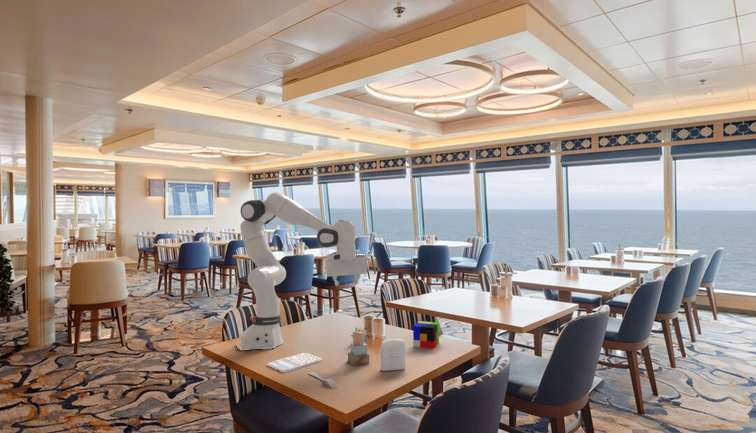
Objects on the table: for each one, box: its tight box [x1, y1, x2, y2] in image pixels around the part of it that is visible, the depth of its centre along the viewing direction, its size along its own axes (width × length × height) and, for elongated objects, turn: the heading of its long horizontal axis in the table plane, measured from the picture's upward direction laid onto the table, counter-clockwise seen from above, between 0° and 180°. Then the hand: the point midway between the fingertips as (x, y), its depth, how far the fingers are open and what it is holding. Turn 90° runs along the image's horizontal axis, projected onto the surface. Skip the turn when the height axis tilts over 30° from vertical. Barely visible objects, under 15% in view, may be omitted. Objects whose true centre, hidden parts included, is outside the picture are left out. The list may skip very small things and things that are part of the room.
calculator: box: [266, 352, 323, 373], centre depth 187 cm, size 13×20×2 cm, turn 135°
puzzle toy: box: [412, 320, 440, 349], centre depth 212 cm, size 10×10×10 cm
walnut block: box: [347, 351, 370, 367], centre depth 188 cm, size 7×7×4 cm
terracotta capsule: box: [352, 330, 364, 346], centre depth 188 cm, size 5×5×5 cm
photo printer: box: [380, 338, 406, 372], centre depth 179 cm, size 10×4×12 cm, turn 103°
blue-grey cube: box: [350, 342, 368, 356], centre depth 188 cm, size 6×6×4 cm
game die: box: [350, 327, 370, 343], centre depth 214 cm, size 9×8×10 cm
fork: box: [307, 371, 339, 390], centre depth 167 cm, size 3×21×3 cm, turn 36°
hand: (346, 284), depth 202 cm, fingers open, 8 cm apart
